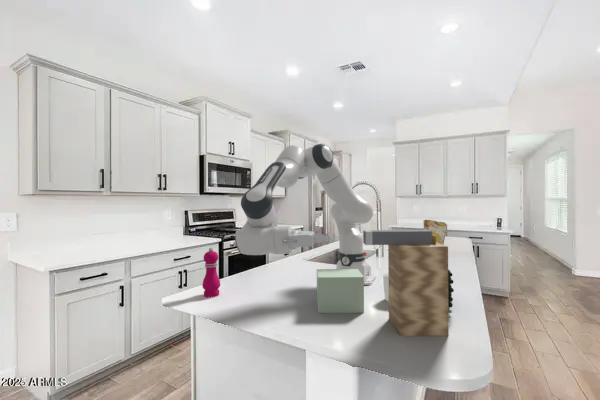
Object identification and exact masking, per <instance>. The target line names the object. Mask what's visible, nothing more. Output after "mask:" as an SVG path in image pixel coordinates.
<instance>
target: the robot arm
mask: <svg viewBox="0 0 600 400" xmlns="http://www.w3.org/2000/svg"><path fill="white" fill-rule="evenodd" d="M313 175H316V177H317V180H318V181H319V183H320V184H321V187H322V189H323V190H324V192H325V194H326V195H327V196H328V198H329V199H330V200H331V201H333V202H334V203H333V204H332V206H331V209H330V214H331V216H332V218H333V220H334V221H335V224H336V225H335V226H336V227H337V232H338V239H339V241H338V242H339V252H338V261H337V262H336V268H335V269H358V270H359V271H360V273H361V274H362V275H363V277H364V286H370V285H372V283H374V281H375V280H376V277H377V276H376V275H375V274H372V267H371V265H370V263H369V262H367V261H366V258H365V257H366V256H367V255H368V254H367V253H368V252H367V251H364V243H363V233H361V231H360V229H359V227H358V225H361V224H366V223H369V222H370V221H371V220H372V218H373V215H374V210H373V206H372V205H371V203H370V202H367V200H365V199H364V198H362V197H361V196H360V195H359V194H358V193H357V192H356V191H355V190H354V189H353V188H352V186H351V185H350V183H349V181H348V180H347V178H346V177H345V175H344V173H343V171H342V169H341V167H340V166H339V165H338V164H337V162H336V161H335V160H334V154H333V151H332V149H331V147H329V146H328V145H327V144H325V143H317V144H314V145H313V146H311V147H308V148H305V149H302V148H301V147H299V146H298V145H287V146H286V147H285V148H284V149H283V150H282V151H281V153H279V155H278V156H277V158H276V160H275V161H274V162H272V163H270V164H269V165H268V166H267V168H266V169H265V170H264V171H263V173H262V174H261V176H260V177H259V179H257V181H256V182H255V184H254V185H252V186H251V187H250V188H249V189H248V190H247V191H246V192H244V194H243V195H242V196H241V199H240V206H241V209H242V211H243V212H244V214H245V216H246V219H247V220H246V222H245V223H244V225H243V226H242V227H241V228H240V229H238V230H236V231H235V234H234V240H235V241H234V242H235V246H236V248H237V250H238V252H239V254H242V255H245V256H246V255H247V256H263V255H267V254H273V255H286V254H287V255H288V254H292V252H293V250H297V248H310V247H313V246H314V244H319V243H326V242H327V243H328V242H330V236H329V234H328V233H315V231H311V230H296V229H293V228H292V227H291V225H278V216H277V213H276V209H275V206H274V205H275V204H274V201H273V199H274V198H273V193H274V190H275V189H276V188H277V187H279V188H284V189H285V188H286V189H287V188H291V187H294V185H296V183H297V182H298V180H301V179H304V178H306V177H311V176H313Z"/></svg>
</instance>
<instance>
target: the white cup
mask: <svg viewBox="0 0 600 400" xmlns="http://www.w3.org/2000/svg"><path fill="white" fill-rule="evenodd" d="M382 277H383V278H382V279H383V283H382V284H383V294H384V301H386V302H387V303H389V272H384V273H383V274H382Z"/></svg>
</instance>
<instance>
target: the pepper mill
mask: <svg viewBox="0 0 600 400" xmlns="http://www.w3.org/2000/svg"><path fill="white" fill-rule="evenodd" d="M203 261H204V262H205V263H204V267H205V275H204V278H203V280H202V285H201V286H202V289H203V290H204V291H203V297H205V298H216V297H218V296H219V295H220V287H221V280H220V278H219V275H218V273H217V267H218V261H219V254H218V252H216V251H214V248H213V247H209V249H208V251H206V252H204V255H203Z"/></svg>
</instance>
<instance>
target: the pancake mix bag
mask: <svg viewBox="0 0 600 400" xmlns="http://www.w3.org/2000/svg"><path fill="white" fill-rule="evenodd" d="M422 221H423V230H429V231H432V235H434V236H436V242H437V243H439V244H442V245H445V244H444V243H445V240H446V239H445V238H446V235H447V231H448V224H447V223H446V222H443V221H436V220H432V219H425V220H422Z"/></svg>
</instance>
